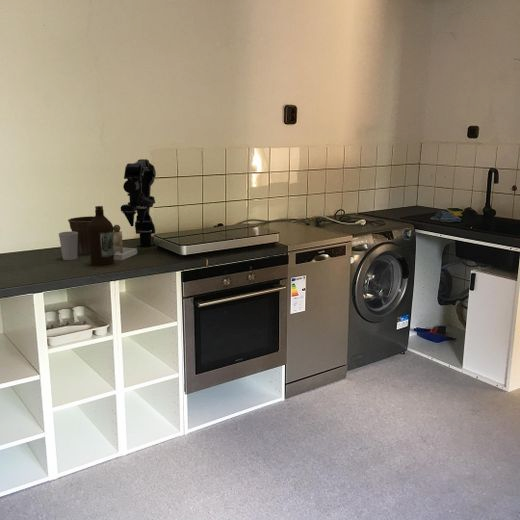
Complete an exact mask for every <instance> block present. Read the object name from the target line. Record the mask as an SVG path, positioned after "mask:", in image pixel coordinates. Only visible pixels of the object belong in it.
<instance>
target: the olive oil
mask: <svg viewBox="0 0 520 520" xmlns="http://www.w3.org/2000/svg"><path fill="white" fill-rule="evenodd" d="M94 209H95V210H94V212H95V215H94V216H95V217H94V218H93V219H92V220H91V222H90V223H89V225H88V229H87V231H88V239H89V248H90V254H89V256H90V257H89V258H90V265H91V266H93V267H94V266H95V267H106V266H111V265H114V264H115V260H114V229H113V226H114V225H113V224H112V222H111V221H110V220H109V219H108V218H107V217H106V216H105V214H104V210H105V209H104V206H103V205H97V206H96V205H95V207H94Z"/></svg>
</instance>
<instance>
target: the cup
mask: <svg viewBox="0 0 520 520" xmlns="http://www.w3.org/2000/svg"><path fill="white" fill-rule="evenodd" d="M58 237H59V243H60V251H61V256H62V257H61V258H62V260H63V261H64V260H65V261H73V260H77V259H78V254H77V244H78V232H72V230H71V231H61V232H58Z"/></svg>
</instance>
